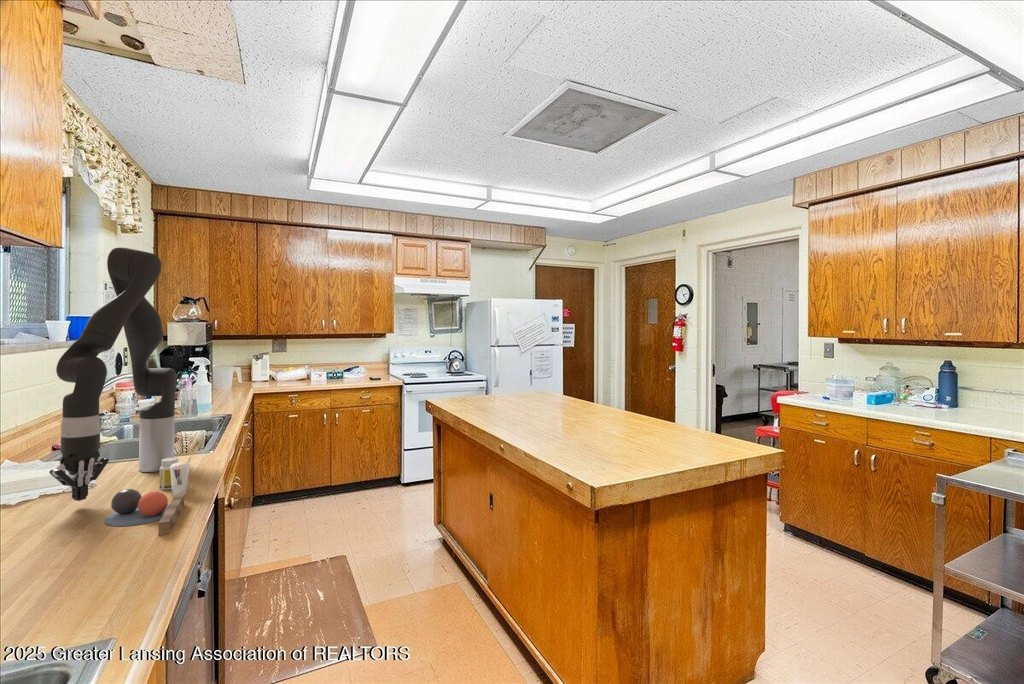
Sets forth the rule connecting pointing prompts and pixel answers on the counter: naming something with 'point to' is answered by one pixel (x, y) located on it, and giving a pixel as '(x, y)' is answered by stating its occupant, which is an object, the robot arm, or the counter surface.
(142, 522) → the blue-grey flat disc
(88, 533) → the counter surface
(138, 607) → the counter surface
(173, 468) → the milkshake
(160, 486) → the supplement bottle
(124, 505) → the dark gray ball
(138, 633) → the counter surface
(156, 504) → the red ball
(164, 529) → the stopper rail
